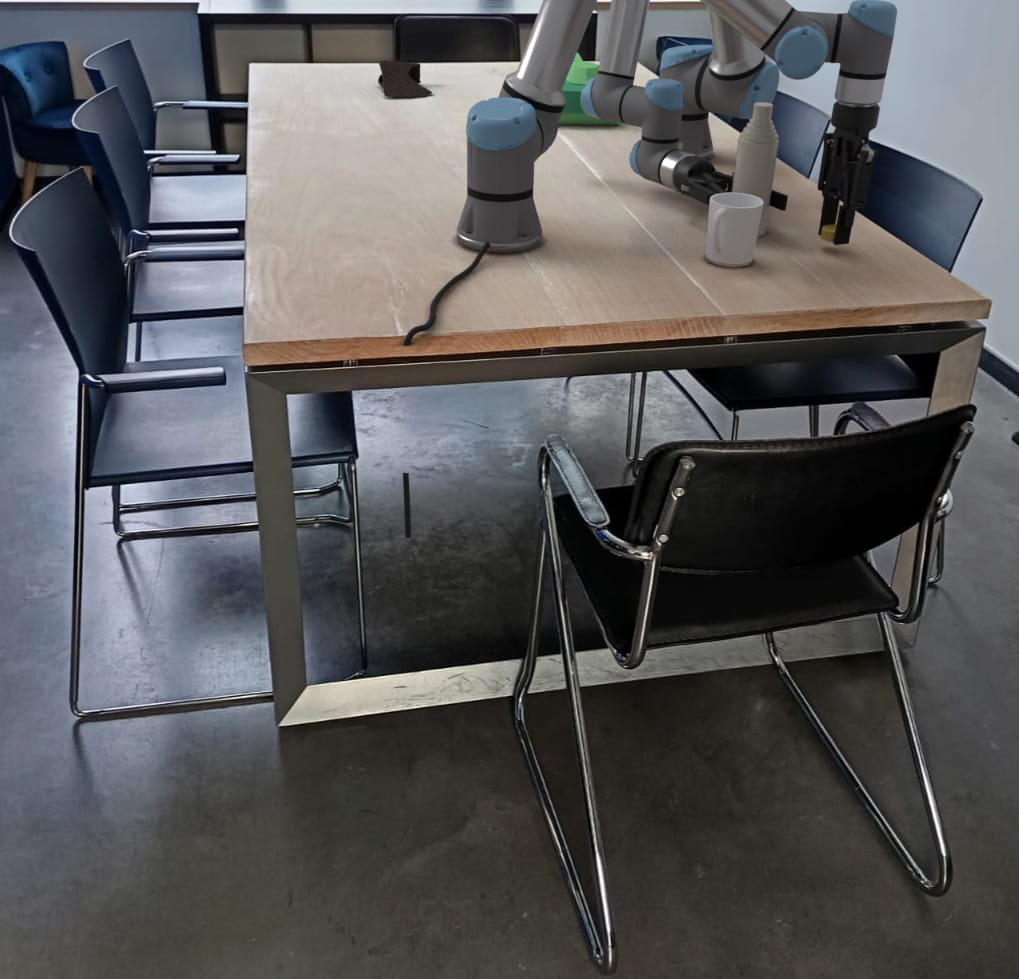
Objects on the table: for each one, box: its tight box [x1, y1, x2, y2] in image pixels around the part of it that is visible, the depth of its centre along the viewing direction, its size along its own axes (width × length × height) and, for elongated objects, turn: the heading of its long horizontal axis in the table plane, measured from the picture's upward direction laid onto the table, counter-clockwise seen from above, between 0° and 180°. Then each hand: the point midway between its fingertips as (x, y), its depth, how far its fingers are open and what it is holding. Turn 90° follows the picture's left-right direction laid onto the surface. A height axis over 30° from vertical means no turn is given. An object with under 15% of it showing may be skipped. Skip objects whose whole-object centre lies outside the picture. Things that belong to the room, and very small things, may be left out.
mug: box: [705, 193, 764, 268], centre depth 186 cm, size 11×9×10 cm
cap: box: [820, 224, 836, 243], centre depth 193 cm, size 5×5×2 cm
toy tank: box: [559, 52, 619, 126], centre depth 280 cm, size 18×12×35 cm
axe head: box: [377, 59, 433, 99], centre depth 299 cm, size 18×8×15 cm
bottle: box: [732, 102, 780, 238], centre depth 197 cm, size 7×7×23 cm
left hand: (833, 238), depth 194 cm, fingers closed on cap, 4 cm apart
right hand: (768, 206), depth 197 cm, fingers closed on bottle, 7 cm apart
